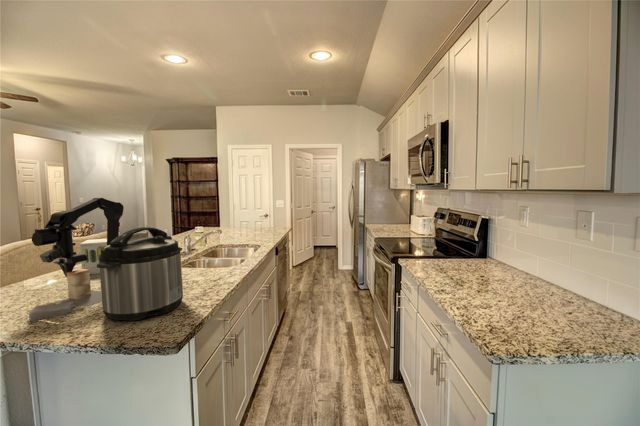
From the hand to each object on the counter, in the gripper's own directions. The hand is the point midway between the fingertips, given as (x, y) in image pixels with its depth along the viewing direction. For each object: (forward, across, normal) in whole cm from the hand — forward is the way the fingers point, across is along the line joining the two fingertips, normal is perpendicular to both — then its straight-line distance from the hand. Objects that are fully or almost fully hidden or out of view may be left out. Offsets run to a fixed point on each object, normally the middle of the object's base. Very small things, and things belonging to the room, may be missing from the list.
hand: (67, 276), depth 133 cm
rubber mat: (+9, +13, 0) cm, 16 cm away
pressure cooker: (+9, +44, -1) cm, 45 cm away
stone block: (+9, +15, -15) cm, 23 cm away
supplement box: (+9, -27, +33) cm, 44 cm away
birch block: (+8, +7, 0) cm, 11 cm away
